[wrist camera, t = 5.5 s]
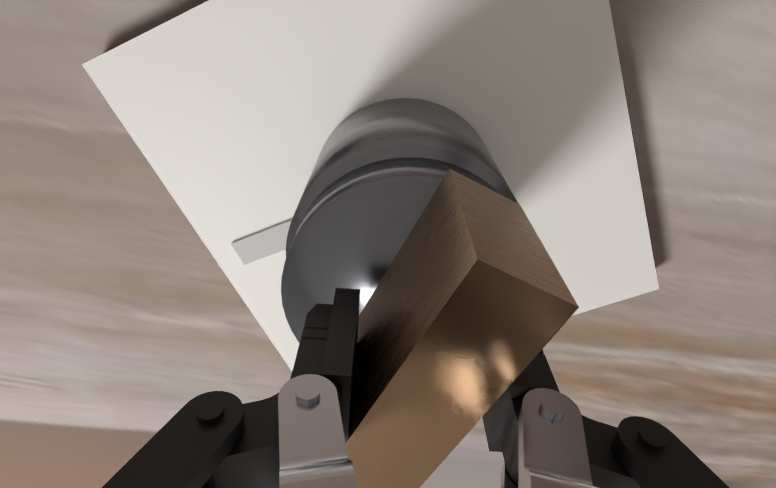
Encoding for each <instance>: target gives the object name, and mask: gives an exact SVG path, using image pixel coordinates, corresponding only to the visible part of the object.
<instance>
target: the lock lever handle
mask: <svg viewBox="0 0 776 488" xmlns="http://www.w3.org/2000/svg"><path fill="white" fill-rule="evenodd" d="M336 288H348V289H360V305H359V323H358V340H357V351H356V362H355V372H354V383H353V393H352V404H351V414H350V425H349V435H348V440H347V442H346V450H347V455H348V460H351V461H352V463H353V467H354V473H355V478H356V484H357V488H419V487H420V486H421V485H422V484H423V483H424V482H425V481H426V480H427V479H428V477H429V476H430V475H431V474H432V473H433V472H434V470H435V469H436V468H437V467H438V466H439V465H440V464H441V463H442V461H443V460H444V459H445V458H446V457H447V456H448V455H449V454H450V453H451V451H452V450H453V449H454V448H455V447H456V446H457V445H458V444H459V442H460V441H461V440H462V439H463V438H464V437H465V436H466V434H467V433H468V432H469V431H470V430H471V429H472V428H473V427H474V425H475V424H476V423H477V422H478V421H479V420H480V419H481V418H482V416H483V415H484V414H485V413H486V412H487V411H488V410H489V409H490V407H491V406H492V405H493V404H494V403H495V402H496V401H497V399H498V398H499V397H500V396H501V395H502V394H503V393H504V392H505V390H506V389H507V388H508V387H509V386H510V385H511V384H512V383H513V381H514V380H515V379H516V378H517V377H518V376H519V375H520V374H521V372H522V371H523V370H524V369H525V368H526V367H527V366H528V364H529V363H530V362H531V361H532V360H533V359H534V358H535V357H536V355H537V354H538V353H539V352H540V351H541V350H542V349H543V348H544V346H545V345H546V344H547V343H548V342H549V341H550V340H551V339H552V337H553V336H554V335H555V334H556V333H557V332H558V331H559V329H560V328H561V327H562V326H563V325H564V324H565V323H566V322H567V320H568V319H569V318H570V317H571V316H572V315H573V314H574V313H575V311H576V310H577V309H578V308H579V306H578V305H577V303H576V301H575V299H574V298H573V296H572V294H571V292H570V291H569V289H568V287H567V285H566V284H565V282H564V280H563V278H562V277H561V275H560V273H559V271H558V270H557V268H556V266H555V265H554V263H553V261H552V259H551V258H550V256H549V254H548V252H547V251H546V249H545V247H544V245H543V244H542V242H541V240H540V238H539V237H538V235H537V233H536V231H535V230H534V228H533V226H532V225H531V223H530V221H529V219H528V218H527V216H526V214H525V212H524V211H523V209H522V207H521V205H520V204H518V203H516V202H514V201H512V200H510V199H508V198H506V197H504V196H502V195H500V194H499V193H498V192H497V191H496V190H495V189H494V188H493V187H492V186H491V185H489V184H488V183H487V182H486V181H484V180H483V179H482V178H480V177H478V176H477V175H475V174H473V173H472V172H470V171H468V170H466V169H463V168H461V167H459V166H456V165H454V164H450V163H447V162H443V161H440V160H434V159H427V158H414V157H403V158H393V159H386V160H382V161H377V162H373V163H370V164H367V165H364V166H362V167H359V168H356V169H354V170H352V171H351V172H349V173H347V174H345V175H343V176H341V177H340V178H338V179H337V180H336V181H334V182H333V183H331V184H330V185H329V186H328V187H327V188H325V189H324V190H323V191H322V192H321V193H320V194H319V195H318V196H317V197H316V199H315V200H314V201H313V202H312V204H311V205H310V206H309V207H308V209H307V211H306V212H305V214H304V216H303V218H302V219H301V222H300V224H299V227H298V229H297V232H296V234H295V237H294V240H293V242H292V245H291V247H290V250H289V253H288V255H287V258H286V260H285V264H284V268H283V273H282V280H281V297H282V305H283V309H284V313H285V317H286V319H287V322H288V324H289V326H290V329H291V331H292V332H293V334H294V336H295V337H296V339H297V341H298V342H299V343H300V339H301V335H302V331H303V329H304V324H305V320H306V316H307V313H308V312H309V311H310V310H311V309H312V308H313V307H314V306H315V305H316V304H333V301H334V295H335V290H336Z"/></svg>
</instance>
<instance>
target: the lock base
mask: <svg viewBox="0 0 776 488" xmlns="http://www.w3.org/2000/svg"><path fill="white" fill-rule="evenodd" d="M82 65H83V67H84V68H85V70H86V71H87V73H88V74H89V76H90V77H91V79H92V80H93V81H94V83H95V84H96V86H97V87H98V89H99V90H100V92H101V93H102V95H103V96H104V98H105V99H106V100H107V102H108V103H109V105H110V106H111V108H112V109H113V111H114V112H115V114H116V115H117V117H118V118H119V119H120V121H121V122H122V124H123V125H124V127H125V128H126V130H127V131H128V133H129V134H130V136H131V137H132V138H133V140H134V141H135V143H136V144H137V146H138V147H139V149H140V150H141V152H142V153H143V154H144V156H145V157H146V159H147V160H148V162H149V163H150V165H151V166H152V168H153V169H154V171H155V172H156V173H157V175H158V176H159V178H160V179H161V181H162V182H163V184H164V185H165V187H166V188H167V190H168V191H169V192H170V194H171V195H172V197H173V198H174V200H175V201H176V203H177V204H178V206H179V207H180V209H181V210H182V211H183V213H184V214H185V216H186V217H187V219H188V220H189V222H190V223H191V225H192V226H193V228H194V229H195V230H196V232H197V233H198V235H199V236H200V238H201V239H202V241H203V242H204V244H205V245H206V247H207V248H208V249H209V251H210V252H211V254H212V255H213V257H214V258H215V260H216V261H217V263H218V264H219V266H220V267H221V268H222V270H223V271H224V273H225V274H226V276H227V277H228V279H229V280H230V282H231V283H232V284H233V286H234V287H235V289H236V290H237V292H238V293H239V295H240V296H241V298H242V299H243V301H244V302H245V303H246V305H247V306H248V308H249V309H250V311H251V312H252V314H253V315H254V317H255V318H256V320H257V321H258V322H259V324H260V325H261V327H262V328H263V330H264V331H265V333H266V334H267V336H268V337H269V339H270V340H271V341H272V343H273V344H274V346H275V347H276V349H277V350H278V352H279V353H280V355H281V356H282V358H283V359H284V360H285V362H286V363H287V365H288V366H289V368H290V369H291V371H293V367H294V363H295V359H296V355H297V351H298V347H299V342H298V341H297V339H296V337H295V336H294V334H293V332H292V331H291V329H290V326H289V324H288V322H287V319H286V317H285V313H284V309H283V305H282V297H281V280H282V273H283V268H284V264H285V260H286V258H287V255H288V253H289V250H290V247H291V245H292V242H293V240H294V237H295V234H296V232H297V229H298V227H299V224H300V222H301V219H302V218H303V216H304V214H305V212H306V211H307V209H308V207H309V206H310V205H311V204H312V202H313V201H314V200H315V199H316V197H317V196H318V195H319V194H320V193H321V192H322V191H323V190H324V189H325V188H327V187H328V186H329V185H330V184H331V183H333V182H334V181H336V180H337V179H338V178H340V177H341V176H343V175H345V174H347V173H349V172H351V171H352V170H354V169H356V168H359V167H362V166H364V165H367V164H370V163H373V162H377V161H382V160H386V159H393V158H403V157H414V158H427V159H434V160H440V161H443V162H447V163H450V164H454V165H456V166H459V167H461V168H463V169H466V170H468V171H470V172H472V173H473V174H475V175H477V176H478V177H480V178H482V179H483V180H484V181H486V182H487V183H488V184H489V185H491V186H492V187H493V188H494V189H495V190H496V191H497V192H498V193H499V194H500V195H502V196H504V197H506V198H508V199H510V200H512V201H514V202H516V203H518V204H520V205H521V207H522V209H523V211H524V212H525V214H526V216H527V218H528V219H529V221H530V223H531V225H532V226H533V228H534V230H535V231H536V233H537V235H538V237H539V238H540V240H541V242H542V244H543V245H544V247H545V249H546V251H547V252H548V254H549V256H550V258H551V259H552V261H553V263H554V265H555V266H556V268H557V270H558V271H559V273H560V275H561V277H562V278H563V280H564V282H565V284H566V285H567V287H568V289H569V291H570V292H571V294H572V296H573V298H574V299H575V301H576V303H577V305H578V306H579V308H578V309H577V310H576V311H575V313H574V314H573V315H575V314H579V313H582V312H585V311H589V310H592V309H595V308H598V307H602V306H605V305H608V304H611V303H615V302H618V301H621V300H625V299H628V298H631V297H634V296H638V295H641V294H644V293H647V292H651V291H654V290H657V289H659V287H658V281H657V275H656V270H655V264H654V258H653V252H652V246H651V241H650V235H649V229H648V223H647V218H646V212H645V206H644V200H643V194H642V189H641V183H640V177H639V171H638V165H637V160H636V154H635V148H634V142H633V136H632V131H631V125H630V119H629V113H628V107H627V102H626V96H625V90H624V84H623V78H622V73H621V67H620V61H619V55H618V50H617V44H616V38H615V32H614V26H613V21H612V15H611V9H610V3H609V0H208V1H206V2H204V3H202V4H200V5H198V6H196V7H194V8H192V9H190V10H188V11H187V12H185V13H183V14H181V15H179V16H177V17H175V18H173V19H171V20H169V21H167V22H165V23H163V24H161V25H159V26H157V27H155V28H153V29H151V30H149V31H147V32H145V33H143V34H141V35H139V36H137V37H135V38H133V39H131V40H129V41H127V42H125V43H123V44H121V45H119V46H117V47H116V48H114V49H112V50H110V51H108V52H106V53H104V54H102V55H100V56H98V57H96V58H94V59H92V60H90V61H88V62H86V63H84V64H82Z"/></svg>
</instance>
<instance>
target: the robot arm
mask: <svg viewBox="0 0 776 488" xmlns="http://www.w3.org/2000/svg"><path fill="white" fill-rule="evenodd" d="M359 305H360V289H348V288H336V290H335V295H334V301H333V304H316V305H315V306H314V307H313V308H312V309H311V310H310V311H309V312H308V313H307V316H306V320H305V324H304V329H303V331H302V335H301V339H300V343H299V347H298V351H297V355H296V359H295V363H294V367H293V371H292V375H291V378H290V380H289V381H287V382H286V383H285V384H284V385H283V386H282V388H281V390H280V392H279V393H278V394H276V395H274V396H272V397H270V398H267V399H264V400H261V401H256V402H251V403H246V404H242V402H241V401H240V399H239V398H238V397H236V396H235V395H233V394H231V393H228V392H224V391H213V392H207V393H204V394H201V395H199V396H197V397H195V398H193V399H192V400H190V401H189V402H188V403H187V404H186V405H185V406H184V407H183V408H182V409H181V410H180V411H179V412H178V413H177V414H176V415H175V416H174V417H173V418H172V419H171V420H170V421H169V422H168V423H167V424H166V425H165V426H163V427H162V428H161V429H160V430H159V431H158V432H157V433H156V434H155V435H154V436H153V437H152V439H150V440H149V441H148V442H147V444H145V445H144V446H143V447H142V448H141V449H140V450H139V451H138V452H137V453H136V454H135V455H134V456H133V457H132V458H131V459H130V460H129V461H128V462H127V463H126V464H125V465H124V466H123V467H122V468H121V469H120V470H119V471H118V472H117V473H116V474H115V475H114V476H113V477H112V478H111V479H110V480H109V481H108V482H107V483H106V484H105V485H104V486H103V487H102V488H357V484H356V478H355V473H354V467H353V463H352V461H351V460H348V455H347V450H346V442H347V440H348V435H349V425H350V414H351V404H352V393H353V383H354V372H355V362H356V351H357V340H358V323H359ZM482 417H483V422H484V427H485V432H486V437H487V442H488V446H489V451H497V452H503V457H504V461H505V462H504V465H503V469H502V473H501V488H729V487H728V486H727V485H726V484H725V483H724V482H723V481H722V480H721V479H720V478H719V477H718V476H717V475H716V474H715V473H713V472H712V471H711V470H710V469H709V468H708V467H707V466H706V465H705V464H704V463H703V462H702V461H701V460H700V459H699V458H698V457H697V456H696V455H695V454H694V453H693V452H692V451H691V450H690V449H689V448H687V447H686V446H685V445H684V444H683V443H682V442H681V441H680V440H679V439H678V438H677V437H676V436H675V435H674V434H673V433H672V432H671V431H669V430H668V429H667V428H666V427H664V426H663V425H661V424H659V423H657V422H655V421H653V420H650V419H648V418H644V417H637V416H634V417H627V418H625V419H623V420H622V421H621V422H620V424H619V426H618V428H617V427H613V426H610V425H607V424H604V423H601V422H598V421H594V420H592V419H589V418H587V417H585V416H583V415H581V412H580V410H579V408H578V407H577V405H576V404H575V403H574V402H573V401H572V400H571V399H570V398H569V397H567V396H566V395H564V394H562V393H560V392H559V389H558V387H557V384H556V382H555V379H554V377H553V374H552V372H551V369H550V367H549V364H548V362H547V360H546V357H545V355H543V350H541V351H540V352H539V353H538V354H537V355H536V357H535V358H534V359H533V360H532V361H531V362H530V363H529V364H528V366H527V367H526V368H525V369H524V370H523V371H522V372H521V374H520V375H519V376H518V377H517V378H516V379H515V380H514V381H513V383H512V384H511V385H510V386H509V387H508V388H507V389H506V390H505V392H504V393H503V394H502V395H501V396H500V397H499V398H498V399H497V401H496V402H495V403H494V404H493V405H492V406H491V407H490V409H489V410H488V411H487V412H486V413H485V414H484V415H483V416H482Z"/></svg>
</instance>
